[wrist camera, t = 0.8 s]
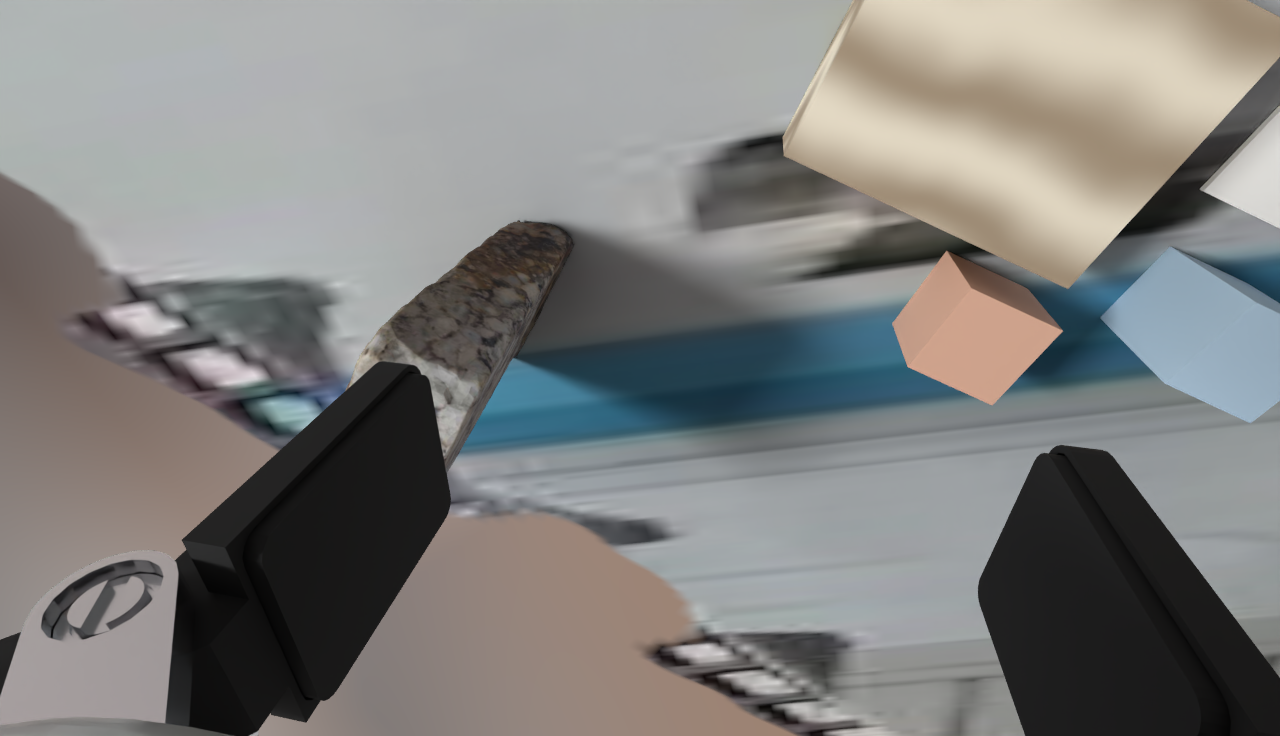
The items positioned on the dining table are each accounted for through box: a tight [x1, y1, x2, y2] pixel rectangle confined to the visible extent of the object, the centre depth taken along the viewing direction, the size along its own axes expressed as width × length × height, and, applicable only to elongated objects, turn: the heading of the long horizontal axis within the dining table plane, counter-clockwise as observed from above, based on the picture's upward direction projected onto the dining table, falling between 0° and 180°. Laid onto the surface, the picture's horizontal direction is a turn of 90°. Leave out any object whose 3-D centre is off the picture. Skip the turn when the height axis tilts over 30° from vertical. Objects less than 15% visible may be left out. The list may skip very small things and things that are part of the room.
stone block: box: [346, 221, 574, 474], centre depth 39 cm, size 13×7×20 cm, turn 155°
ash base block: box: [783, 0, 1280, 289], centre depth 32 cm, size 14×18×5 cm
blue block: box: [1100, 247, 1280, 423], centre depth 36 cm, size 6×6×8 cm
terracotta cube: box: [892, 251, 1063, 405], centre depth 39 cm, size 6×6×6 cm
